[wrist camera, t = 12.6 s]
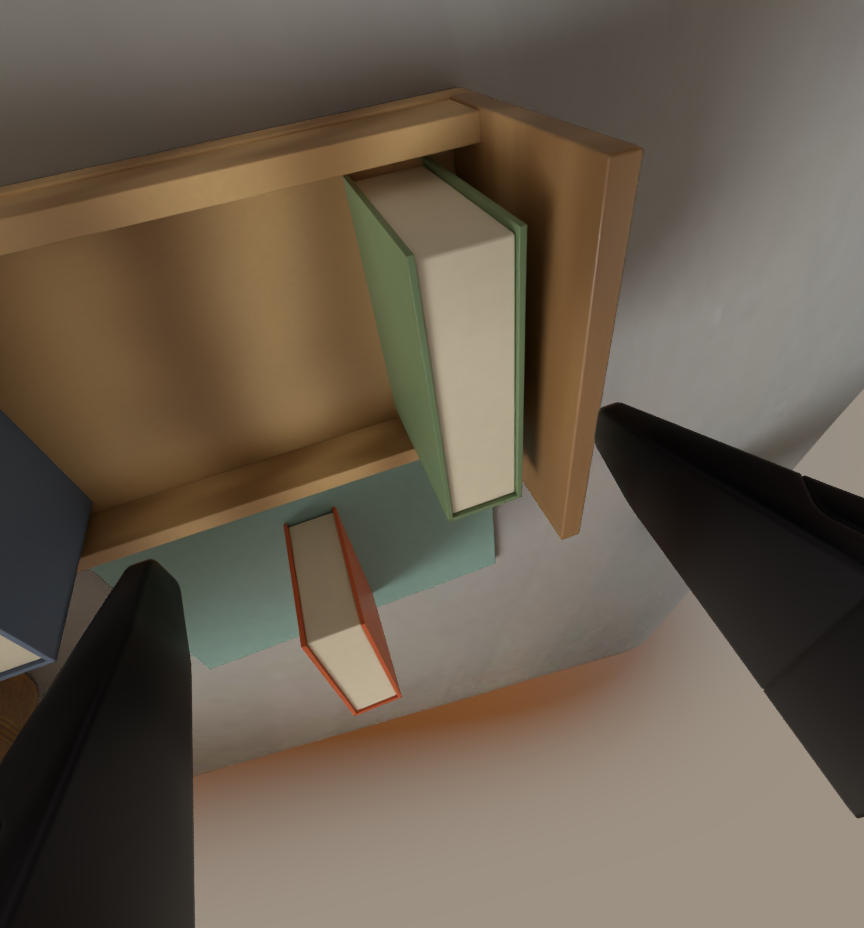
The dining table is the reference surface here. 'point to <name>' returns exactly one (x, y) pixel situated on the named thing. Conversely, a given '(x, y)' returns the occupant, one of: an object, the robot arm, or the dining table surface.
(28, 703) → the wooden container
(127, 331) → the book rack
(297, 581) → the orange book
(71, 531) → the blue book
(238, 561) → the mat
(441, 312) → the green book
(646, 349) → the dining table surface
